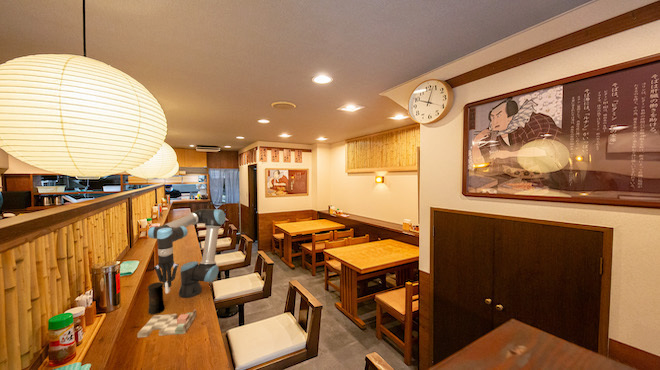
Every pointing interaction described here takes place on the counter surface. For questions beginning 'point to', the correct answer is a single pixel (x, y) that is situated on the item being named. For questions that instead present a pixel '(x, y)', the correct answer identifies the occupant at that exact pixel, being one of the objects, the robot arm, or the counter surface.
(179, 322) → the block
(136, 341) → the counter surface
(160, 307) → the container
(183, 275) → the robot arm
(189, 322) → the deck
